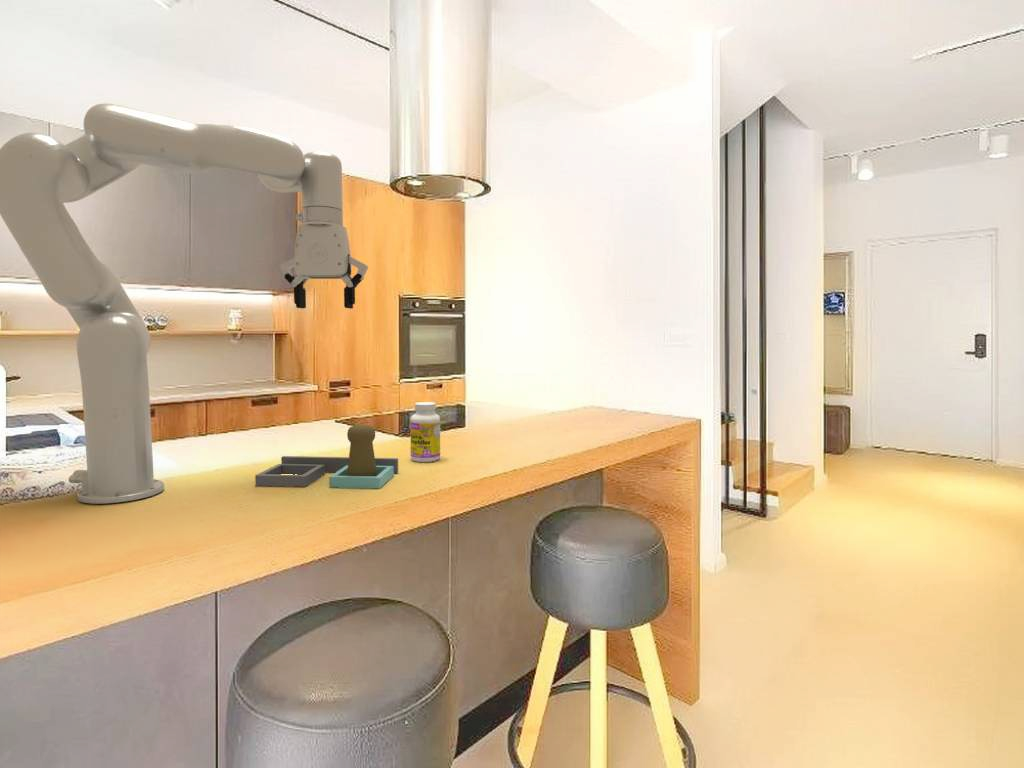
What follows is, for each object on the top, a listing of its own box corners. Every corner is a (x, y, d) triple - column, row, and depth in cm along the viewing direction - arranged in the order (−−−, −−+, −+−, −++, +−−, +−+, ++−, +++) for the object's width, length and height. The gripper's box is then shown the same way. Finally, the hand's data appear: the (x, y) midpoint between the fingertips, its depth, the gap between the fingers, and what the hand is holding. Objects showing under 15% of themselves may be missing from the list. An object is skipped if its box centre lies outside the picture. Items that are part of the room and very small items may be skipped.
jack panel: (254, 485, 107) (253, 470, 107) (283, 470, 119) (283, 456, 119) (381, 488, 106) (381, 472, 105) (398, 472, 118) (398, 458, 118)
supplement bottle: (404, 461, 128) (404, 404, 127) (420, 455, 134) (419, 400, 133) (431, 464, 126) (430, 405, 125) (445, 458, 132) (445, 402, 131)
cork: (369, 486, 107) (368, 428, 106) (339, 484, 108) (338, 426, 107) (383, 478, 113) (382, 423, 112) (355, 477, 114) (354, 422, 113)
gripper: (270, 216, 109) (273, 307, 111) (360, 215, 108) (361, 307, 110) (288, 223, 117) (290, 308, 118) (372, 223, 116) (373, 309, 117)
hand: (324, 308), depth 114 cm, fingers open, 9 cm apart
